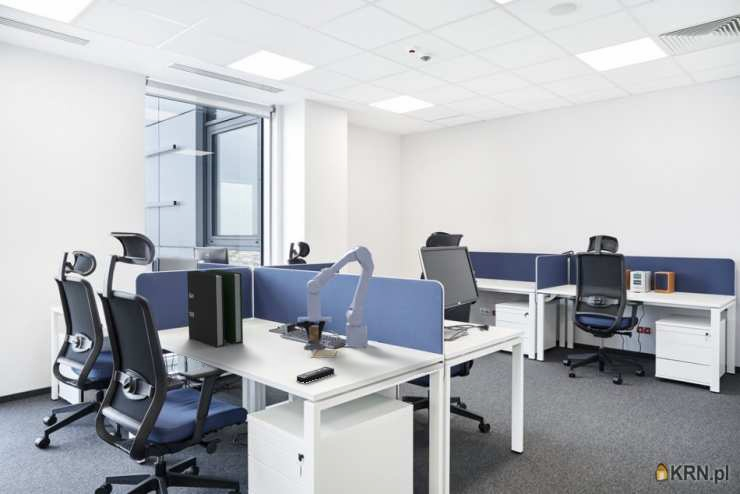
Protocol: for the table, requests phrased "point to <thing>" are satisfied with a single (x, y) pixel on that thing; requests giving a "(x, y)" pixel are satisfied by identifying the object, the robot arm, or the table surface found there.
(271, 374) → the table surface
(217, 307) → the binders
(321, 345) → the pad
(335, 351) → the card
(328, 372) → the multiport hub
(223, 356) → the table surface
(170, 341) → the table surface
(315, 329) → the stamp
